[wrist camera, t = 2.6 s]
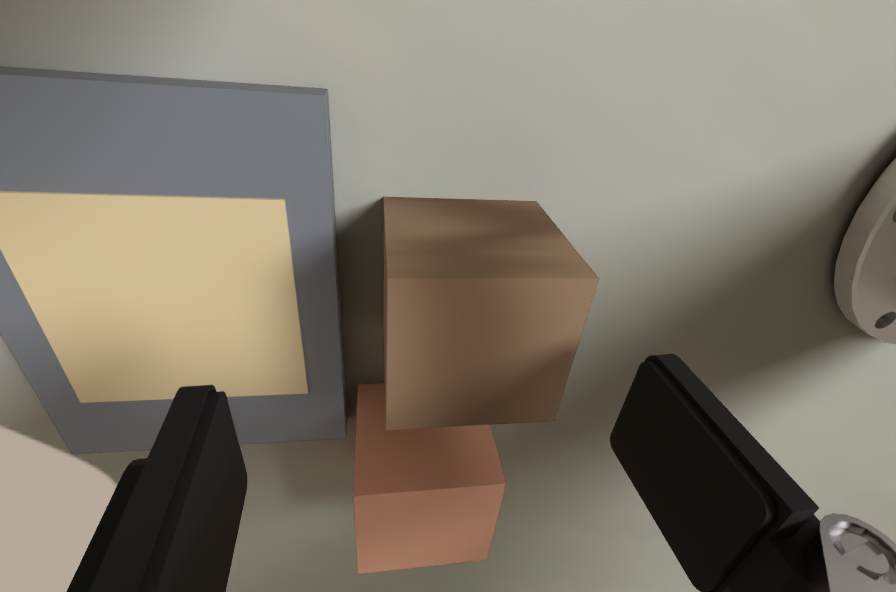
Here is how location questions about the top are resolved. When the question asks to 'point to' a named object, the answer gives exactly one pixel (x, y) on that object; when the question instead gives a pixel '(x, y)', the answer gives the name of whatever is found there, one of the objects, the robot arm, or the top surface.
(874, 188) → the robot arm
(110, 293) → the board
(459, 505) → the terracotta block
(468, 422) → the walnut block
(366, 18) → the top surface
